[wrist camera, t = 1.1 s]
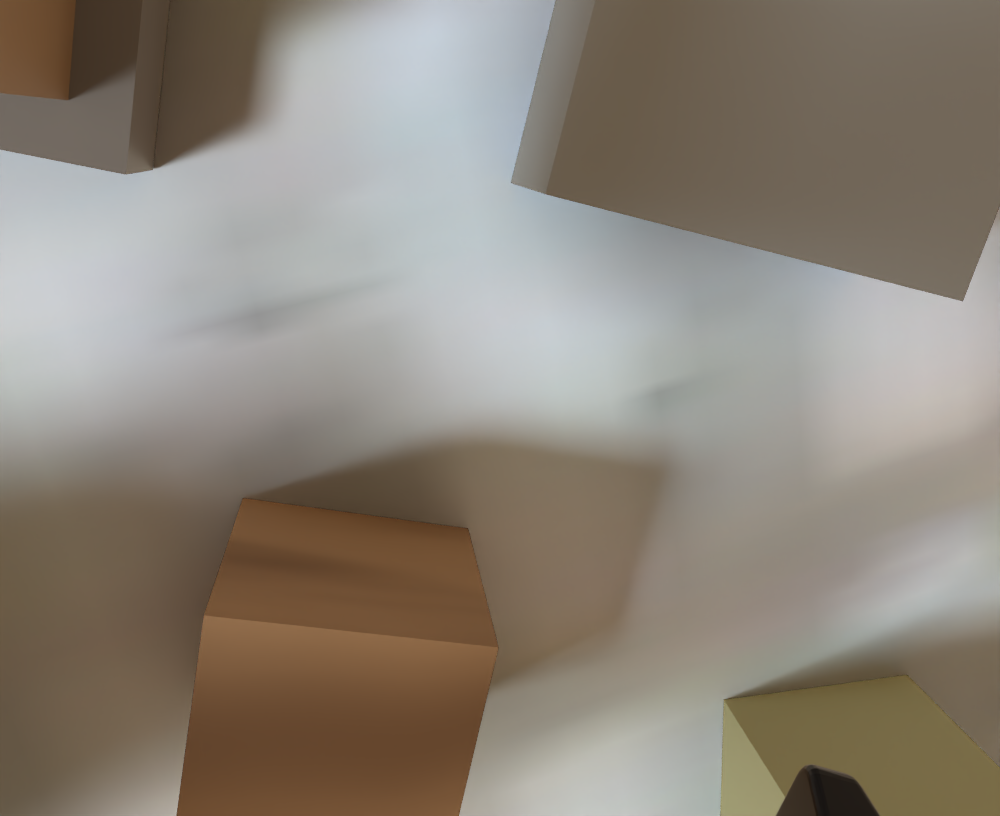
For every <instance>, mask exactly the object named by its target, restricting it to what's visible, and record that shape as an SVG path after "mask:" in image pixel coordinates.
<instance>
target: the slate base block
mask: <svg viewBox="0 0 1000 816" xmlns="http://www.w3.org/2000/svg"><path fill="white" fill-rule="evenodd" d="M511 183H513V184H516V185H519V186H522V187H525V188H528V189H531V190H534V191H537V192H541V193H544V194H547V195H551V196H555V197H559V198H563V199H566V200H570V201H574V202H578V203H582V204H586V205H590V206H594V207H598V208H602V209H605V210H609V211H613V212H617V213H621V214H625V215H629V216H633V217H637V218H640V219H644V220H648V221H652V222H656V223H660V224H664V225H668V226H672V227H676V228H679V229H683V230H687V231H691V232H695V233H699V234H703V235H707V236H711V237H715V238H718V239H722V240H726V241H730V242H734V243H738V244H742V245H746V246H750V247H754V248H757V249H761V250H765V251H769V252H773V253H777V254H781V255H785V256H789V257H792V258H796V259H800V260H804V261H808V262H812V263H816V264H820V265H824V266H828V267H831V268H835V269H839V270H843V271H847V272H851V273H855V274H859V275H863V276H867V277H870V278H874V279H878V280H882V281H886V282H890V283H894V284H898V285H902V286H906V287H909V288H913V289H917V290H921V291H925V292H929V293H933V294H937V295H941V296H944V297H948V298H952V299H956V300H960V301H963V300H964V297H965V294H966V292H967V289H968V287H969V284H970V282H971V279H972V276H973V274H974V271H975V269H976V266H977V263H978V261H979V258H980V256H981V253H982V250H983V248H984V245H985V243H986V240H987V238H988V235H989V232H990V230H991V227H992V225H993V222H994V219H995V217H996V214H997V212H998V209H999V206H1000V0H556V1H555V6H554V10H553V14H552V18H551V22H550V26H549V30H548V34H547V38H546V42H545V46H544V50H543V54H542V58H541V62H540V66H539V70H538V74H537V79H536V83H535V87H534V91H533V95H532V99H531V103H530V107H529V111H528V115H527V119H526V123H525V127H524V131H523V135H522V139H521V143H520V147H519V152H518V156H517V160H516V164H515V168H514V172H513V176H512V180H511Z"/></svg>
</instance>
